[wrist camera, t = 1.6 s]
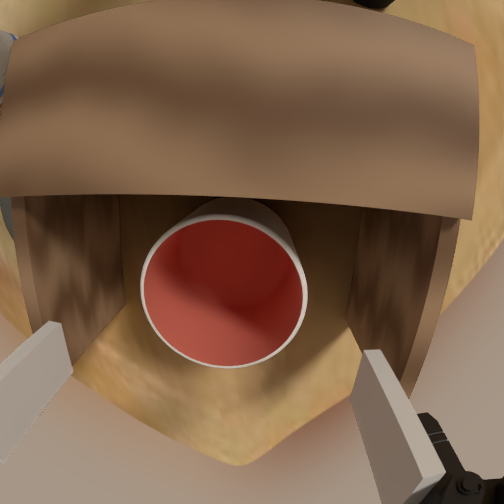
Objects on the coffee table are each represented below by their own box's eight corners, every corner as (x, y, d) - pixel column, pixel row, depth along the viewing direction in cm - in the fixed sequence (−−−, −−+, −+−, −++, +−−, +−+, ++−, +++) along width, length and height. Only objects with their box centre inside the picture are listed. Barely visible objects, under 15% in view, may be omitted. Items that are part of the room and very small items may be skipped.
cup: (176, 195, 26) (131, 215, 17) (294, 195, 26) (313, 215, 16) (182, 302, 29) (150, 363, 20) (289, 305, 29) (301, 370, 19)
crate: (113, 76, 23) (15, 32, 10) (381, 84, 23) (472, 35, 9) (115, 302, 29) (39, 385, 16) (356, 318, 29) (409, 419, 16)
